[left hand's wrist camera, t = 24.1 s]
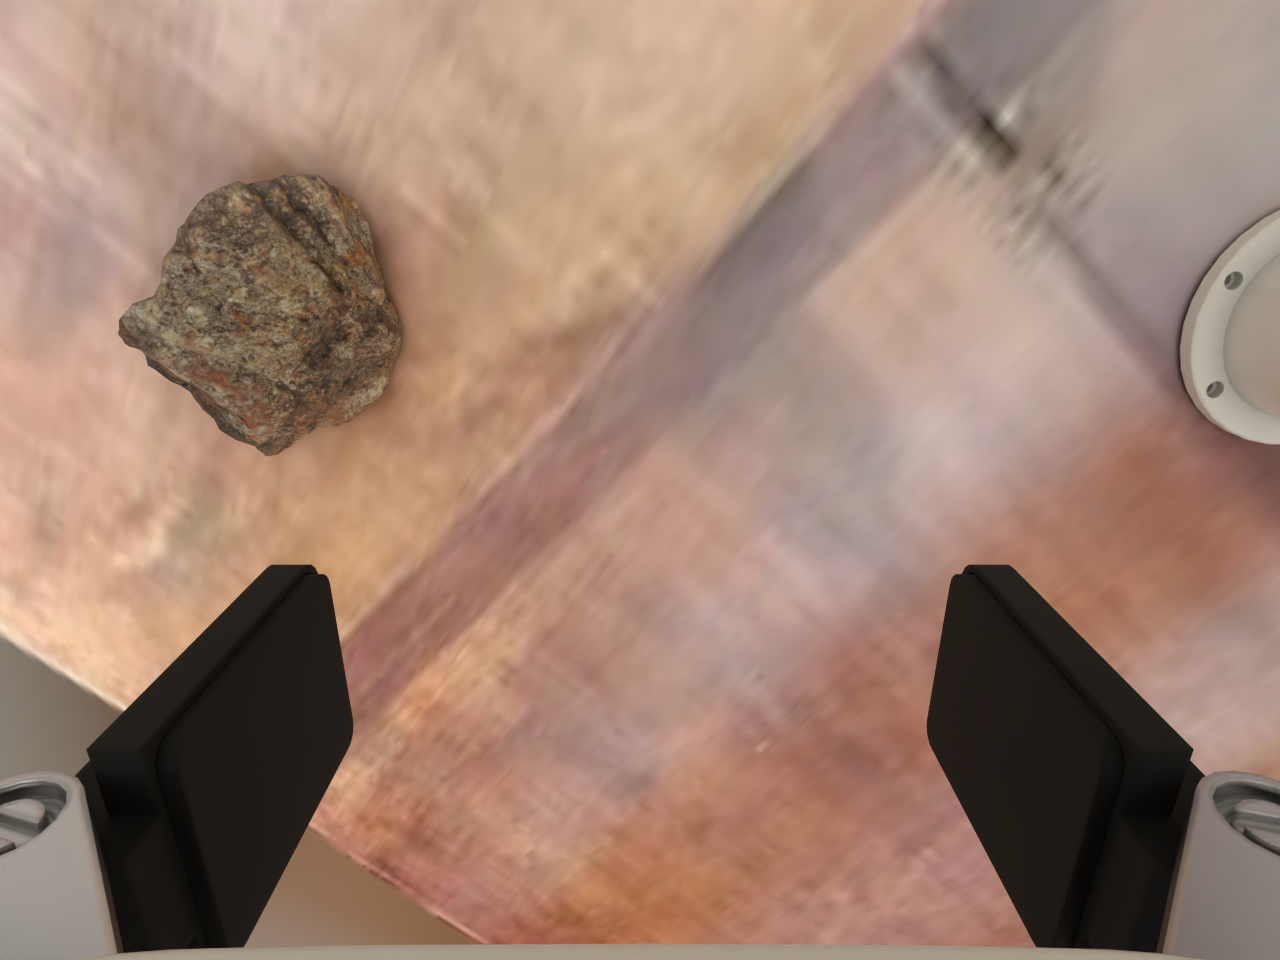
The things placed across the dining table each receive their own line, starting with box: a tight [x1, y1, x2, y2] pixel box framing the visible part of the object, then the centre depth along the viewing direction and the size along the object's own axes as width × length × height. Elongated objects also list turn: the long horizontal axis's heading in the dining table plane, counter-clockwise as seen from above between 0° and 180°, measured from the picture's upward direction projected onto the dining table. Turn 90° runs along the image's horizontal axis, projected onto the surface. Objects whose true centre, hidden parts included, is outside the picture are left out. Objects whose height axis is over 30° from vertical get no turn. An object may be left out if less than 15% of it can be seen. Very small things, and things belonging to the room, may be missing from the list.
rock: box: [118, 174, 402, 456], centre depth 35 cm, size 14×9×10 cm
